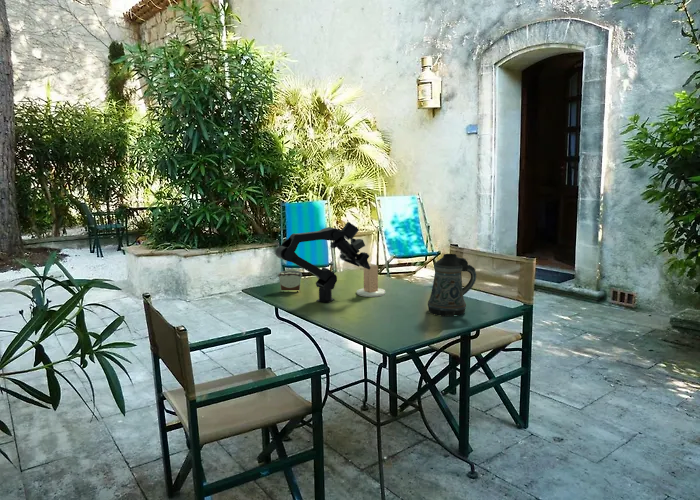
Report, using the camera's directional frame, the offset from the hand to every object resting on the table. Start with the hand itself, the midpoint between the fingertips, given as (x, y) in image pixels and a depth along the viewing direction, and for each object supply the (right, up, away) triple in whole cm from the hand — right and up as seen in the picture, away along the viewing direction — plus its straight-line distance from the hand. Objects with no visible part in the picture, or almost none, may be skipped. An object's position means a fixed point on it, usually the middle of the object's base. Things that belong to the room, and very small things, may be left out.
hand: (364, 267), depth 270 cm
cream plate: (+3, -13, +4) cm, 14 cm away
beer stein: (+36, -18, -29) cm, 50 cm away
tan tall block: (+3, -12, +4) cm, 13 cm away
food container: (-37, -13, +12) cm, 41 cm away
